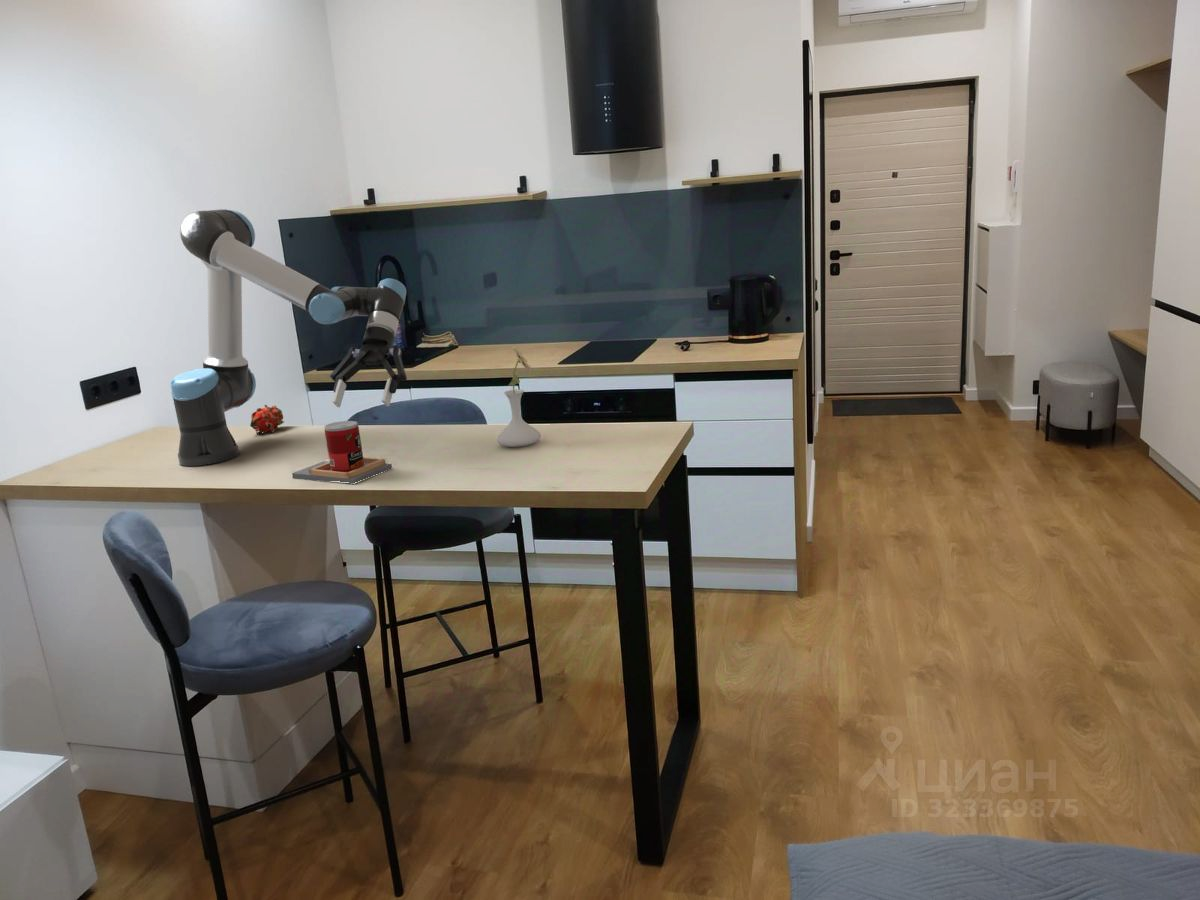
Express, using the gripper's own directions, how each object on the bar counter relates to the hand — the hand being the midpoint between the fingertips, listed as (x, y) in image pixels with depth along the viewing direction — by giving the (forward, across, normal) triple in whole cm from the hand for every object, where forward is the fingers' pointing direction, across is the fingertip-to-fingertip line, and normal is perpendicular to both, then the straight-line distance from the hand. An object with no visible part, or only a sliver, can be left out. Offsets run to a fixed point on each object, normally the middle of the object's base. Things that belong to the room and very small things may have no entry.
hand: (360, 404), depth 230 cm
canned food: (+17, 0, -2) cm, 17 cm away
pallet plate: (+18, +1, -3) cm, 18 cm away
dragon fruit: (-11, +50, -33) cm, 62 cm away
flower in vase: (0, -35, -21) cm, 41 cm away
